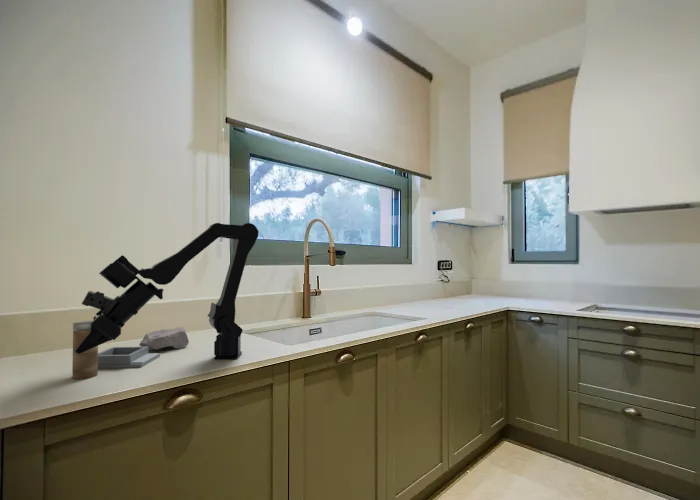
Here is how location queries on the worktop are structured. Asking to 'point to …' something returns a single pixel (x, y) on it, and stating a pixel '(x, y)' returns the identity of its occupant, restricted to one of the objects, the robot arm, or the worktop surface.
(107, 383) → the worktop surface
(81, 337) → the round tan cylinder
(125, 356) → the cradle
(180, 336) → the stone
